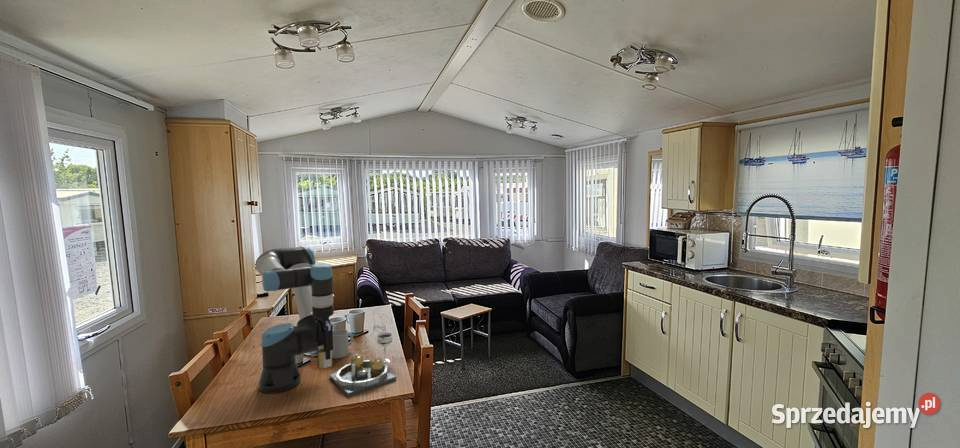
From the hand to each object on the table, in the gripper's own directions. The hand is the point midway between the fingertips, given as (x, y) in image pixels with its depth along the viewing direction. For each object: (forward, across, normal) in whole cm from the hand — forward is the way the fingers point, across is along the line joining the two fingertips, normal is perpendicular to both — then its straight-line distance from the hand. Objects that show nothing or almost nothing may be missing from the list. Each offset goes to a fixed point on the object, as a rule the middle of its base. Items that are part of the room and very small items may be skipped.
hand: (325, 364), depth 147 cm
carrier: (+11, 0, -15) cm, 19 cm away
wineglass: (+11, +10, -30) cm, 34 cm away
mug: (+12, +32, -18) cm, 38 cm away
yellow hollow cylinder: (0, 0, 0) cm, 0 cm away
